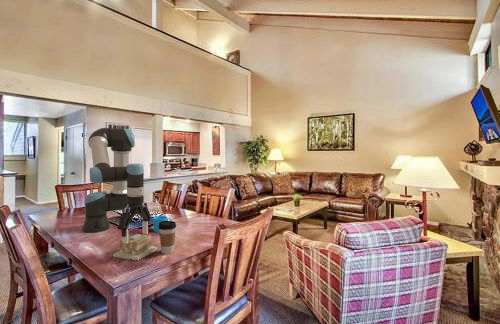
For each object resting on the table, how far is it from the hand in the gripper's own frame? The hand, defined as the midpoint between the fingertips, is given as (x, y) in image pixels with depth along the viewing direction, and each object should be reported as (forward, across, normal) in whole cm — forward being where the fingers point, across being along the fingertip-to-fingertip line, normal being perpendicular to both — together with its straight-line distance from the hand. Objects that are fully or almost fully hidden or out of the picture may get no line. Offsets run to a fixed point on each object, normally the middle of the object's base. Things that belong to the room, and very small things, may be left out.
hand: (135, 238), depth 127 cm
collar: (+6, 0, 0) cm, 6 cm away
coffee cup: (+7, +6, -14) cm, 17 cm away
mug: (+8, +36, +10) cm, 38 cm away
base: (+7, 0, 0) cm, 7 cm away
